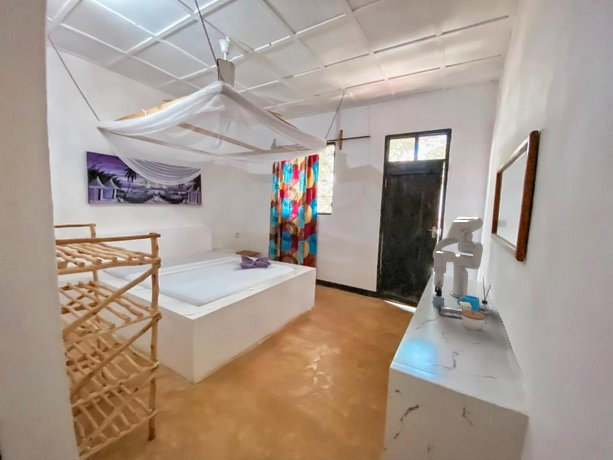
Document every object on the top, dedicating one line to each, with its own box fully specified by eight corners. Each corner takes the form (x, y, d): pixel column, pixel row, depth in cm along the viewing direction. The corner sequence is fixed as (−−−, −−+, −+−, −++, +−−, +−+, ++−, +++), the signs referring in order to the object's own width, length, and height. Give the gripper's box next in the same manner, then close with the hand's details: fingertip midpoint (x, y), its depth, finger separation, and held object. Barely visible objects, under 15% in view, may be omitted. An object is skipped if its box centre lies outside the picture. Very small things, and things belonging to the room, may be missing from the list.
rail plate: (437, 307, 161) (437, 296, 161) (469, 311, 154) (469, 300, 154) (439, 315, 148) (440, 304, 148) (474, 320, 141) (475, 308, 141)
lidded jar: (488, 333, 127) (489, 315, 126) (465, 330, 129) (467, 314, 128) (478, 323, 137) (479, 307, 137) (457, 322, 140) (458, 306, 139)
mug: (478, 309, 158) (479, 297, 158) (478, 313, 152) (479, 301, 151) (457, 305, 165) (457, 293, 165) (456, 309, 159) (457, 296, 158)
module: (432, 301, 171) (432, 293, 170) (442, 303, 168) (443, 295, 168) (433, 305, 164) (433, 296, 164) (444, 306, 162) (444, 298, 161)
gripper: (432, 266, 174) (430, 290, 175) (434, 271, 158) (432, 297, 159) (444, 268, 171) (442, 291, 172) (447, 273, 155) (445, 299, 156)
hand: (437, 294), depth 165 cm, fingers open, 9 cm apart
